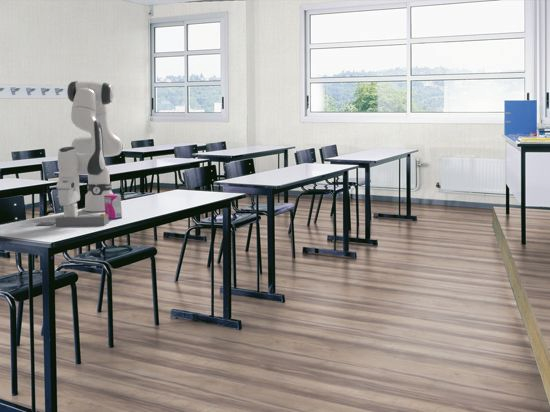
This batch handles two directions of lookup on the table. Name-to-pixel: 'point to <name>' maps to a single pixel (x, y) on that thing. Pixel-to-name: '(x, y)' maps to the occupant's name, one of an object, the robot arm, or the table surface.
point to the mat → (46, 224)
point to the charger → (72, 211)
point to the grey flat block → (83, 220)
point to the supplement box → (113, 206)
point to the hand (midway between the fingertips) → (70, 213)
